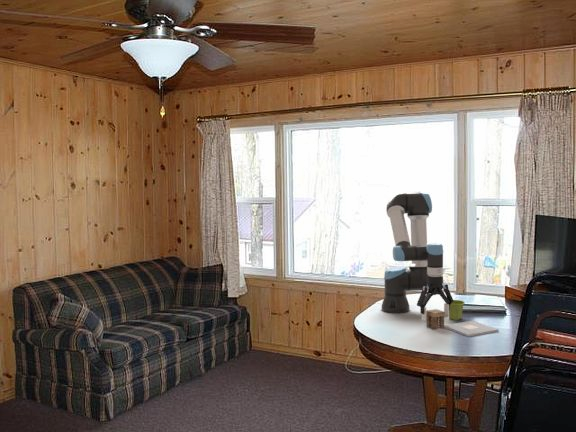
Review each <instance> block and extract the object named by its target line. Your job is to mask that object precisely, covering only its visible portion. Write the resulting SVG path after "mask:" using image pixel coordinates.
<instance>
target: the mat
mask: <svg viewBox="0 0 576 432" xmlns="http://www.w3.org/2000/svg"><path fill="white" fill-rule="evenodd" d="M443 329H447V330H449V331H452V332H455V333H457V334H460V335H463V336H465V337H469V338H470V337H476V336H481V335H487V334H492V333H497V332H499V328H496V327H492V326H490V325H486V324H483V323H481V322H478V321H475V320H468V321H467V320H466V321H462V322H461V321H460V322H454V323H449V324H444V328H443ZM475 335H476V336H475Z"/></svg>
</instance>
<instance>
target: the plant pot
mask: <svg viewBox="0 0 576 432" xmlns="http://www.w3.org/2000/svg"><path fill="white" fill-rule="evenodd" d="M465 303H466V302H465V301H463V300H461V299H453V302H452V304H450V310H449V318H448V319H450V320H453V321H454V320H455V321H459V320H461V319H462V316H463V309H464V306H465Z"/></svg>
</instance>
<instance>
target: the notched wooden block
mask: <svg viewBox="0 0 576 432" xmlns="http://www.w3.org/2000/svg"><path fill="white" fill-rule="evenodd" d="M425 322H426V328H431V330H432V329H433V330H438V328H440V329H445V328H444V325H445V317H444V311H443V310H440V309H437V308H433V309H428V310H427V309H426V321H425Z"/></svg>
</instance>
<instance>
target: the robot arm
mask: <svg viewBox="0 0 576 432" xmlns="http://www.w3.org/2000/svg"><path fill="white" fill-rule="evenodd" d="M385 211H386V215H387V217H388V218H389V221H390V225H391V230H392V235H393V240H394V244H395V246H393V248H392V259H393V260H394V261H395V262H411V263H410V264H409V266H408V269H407V267H405V266H392V267H389V268H386V269H385V271H384V275H383V276H384V277H383V279H384V297H383V300H382V304H381V310H382V311H383V312H386V313H392V314H402V313H407V312H409V311H410V304H409V301H408V297H407V292H410V291H411V292H413V291H414V292H418V291H421V293H420V296H419V297H418V300H417V303H416V306H417V307H420V314H421V321H424V322H426V310H427V307H426V306H427V304H428V303H429V301H430V299H431V298H432V297H433V296H437V295H439V296H440V297H441V299H442V300H443V301H444V303H443V305H444V306H443V310H444V318H447V319H450V318H449V310H450V304H452V302H453V300H454V298H453V296H452V294H451V292H450V289H449V284H447V283H444V276H443V275H444V247H443V246H444V245H443V244H442V243H437V242H436V243H435V242H434V243H432V242H431V243H428V234H427V233H428V231H427V230H428V229H427V228H428V227H427V219H428V218H429V217H430V214H431V213H432V212H433V202H432V198H431V196H430V194H429V193H428V192H427V191H414V192H413V191H412V192H411V191H409V192H408V191H407V192H398V193H396V194H394V195H393V196H392V197H391V198H390V199H389V200H388V202H387V205H386V210H385ZM405 214H407V215H406V216H407V218H408V219H409V220H410V237H409V231H408V227H407V224H406V218H405Z"/></svg>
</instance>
